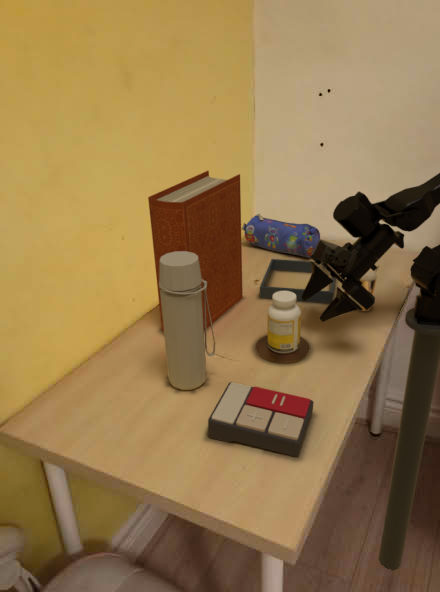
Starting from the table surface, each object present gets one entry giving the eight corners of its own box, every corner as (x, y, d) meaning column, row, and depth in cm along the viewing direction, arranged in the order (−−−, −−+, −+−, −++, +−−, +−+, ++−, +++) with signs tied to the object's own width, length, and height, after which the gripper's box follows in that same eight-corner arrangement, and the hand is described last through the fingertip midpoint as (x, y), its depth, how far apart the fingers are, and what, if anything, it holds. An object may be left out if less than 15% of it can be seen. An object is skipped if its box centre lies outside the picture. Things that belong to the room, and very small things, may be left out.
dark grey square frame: (336, 273, 141) (337, 262, 139) (332, 303, 126) (333, 292, 125) (271, 269, 145) (271, 258, 143) (259, 298, 130) (259, 286, 129)
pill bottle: (290, 335, 114) (291, 285, 108) (305, 350, 108) (307, 299, 103) (262, 342, 112) (262, 292, 106) (276, 358, 106) (276, 306, 101)
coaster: (312, 337, 114) (312, 335, 113) (306, 366, 104) (306, 364, 104) (260, 332, 116) (260, 330, 116) (250, 360, 107) (250, 358, 107)
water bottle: (172, 396, 98) (159, 270, 86) (165, 372, 104) (153, 252, 92) (221, 388, 99) (216, 263, 87) (211, 364, 106) (205, 245, 94)
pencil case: (241, 247, 159) (240, 216, 155) (257, 238, 165) (257, 208, 160) (307, 263, 147) (308, 230, 143) (322, 253, 153) (324, 221, 148)
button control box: (300, 440, 81) (207, 416, 85) (298, 461, 83) (207, 437, 88) (314, 396, 90) (229, 377, 94) (312, 416, 92) (229, 397, 96)
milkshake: (380, 309, 123) (385, 269, 118) (360, 313, 122) (364, 273, 117) (368, 300, 127) (372, 261, 122) (349, 305, 125) (352, 265, 121)
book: (213, 290, 134) (207, 170, 120) (242, 297, 131) (240, 174, 116) (159, 333, 117) (144, 198, 103) (190, 342, 114) (179, 204, 99)
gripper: (321, 211, 108) (269, 269, 112) (365, 243, 92) (302, 310, 96) (354, 243, 114) (303, 297, 117) (401, 278, 98) (341, 340, 101)
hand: (311, 309), depth 107 cm, fingers open, 9 cm apart
